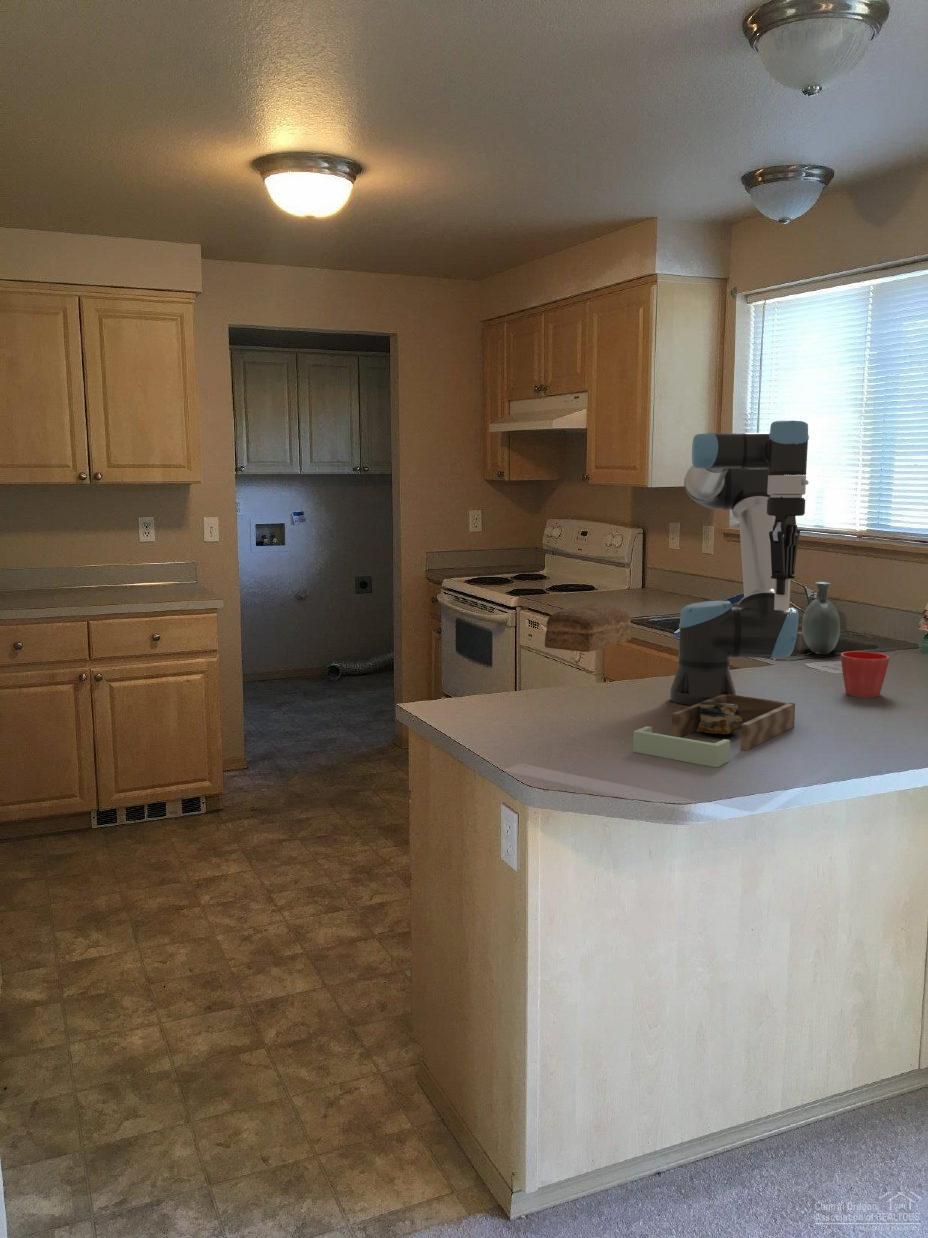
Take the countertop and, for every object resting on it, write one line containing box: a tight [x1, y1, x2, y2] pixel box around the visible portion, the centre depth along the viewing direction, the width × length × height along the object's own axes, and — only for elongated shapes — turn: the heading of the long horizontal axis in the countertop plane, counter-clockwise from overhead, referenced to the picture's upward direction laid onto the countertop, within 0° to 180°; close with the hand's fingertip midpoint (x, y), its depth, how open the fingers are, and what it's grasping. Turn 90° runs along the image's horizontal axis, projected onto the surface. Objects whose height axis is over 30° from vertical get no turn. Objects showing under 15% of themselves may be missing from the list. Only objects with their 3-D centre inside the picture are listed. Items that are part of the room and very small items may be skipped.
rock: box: [696, 702, 743, 735], centre depth 205 cm, size 9×9×6 cm
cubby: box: [670, 694, 796, 752], centre depth 207 cm, size 24×16×5 cm, turn 141°
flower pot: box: [840, 650, 890, 698], centre depth 244 cm, size 11×11×10 cm
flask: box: [801, 581, 841, 656], centre depth 298 cm, size 12×17×22 cm
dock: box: [632, 725, 731, 768], centre depth 189 cm, size 5×17×4 cm, turn 51°
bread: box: [544, 602, 633, 653], centre depth 315 cm, size 17×30×13 cm, turn 144°
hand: (781, 609), depth 211 cm, fingers closed
